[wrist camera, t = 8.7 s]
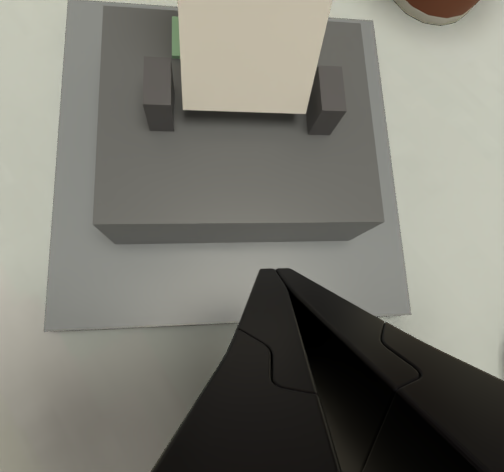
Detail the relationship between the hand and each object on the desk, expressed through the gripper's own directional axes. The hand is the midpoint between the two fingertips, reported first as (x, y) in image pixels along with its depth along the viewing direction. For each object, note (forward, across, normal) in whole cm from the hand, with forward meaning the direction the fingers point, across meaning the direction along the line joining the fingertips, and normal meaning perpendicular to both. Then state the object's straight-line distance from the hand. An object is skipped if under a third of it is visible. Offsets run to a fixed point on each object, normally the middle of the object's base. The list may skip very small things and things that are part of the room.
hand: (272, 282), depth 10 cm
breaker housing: (+12, 0, -1) cm, 13 cm away
